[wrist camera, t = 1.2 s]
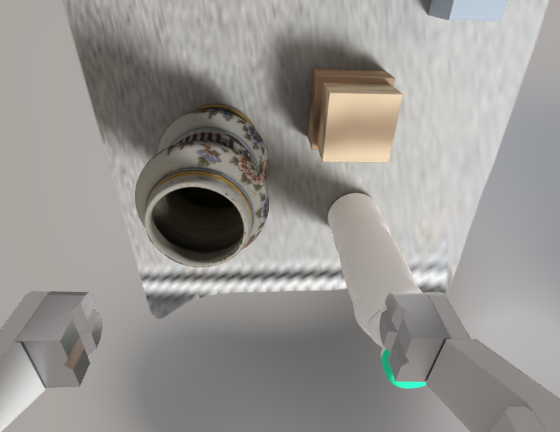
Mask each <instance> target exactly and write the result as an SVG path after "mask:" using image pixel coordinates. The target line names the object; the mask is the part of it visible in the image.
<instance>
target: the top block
mask: <svg viewBox="0 0 560 432" xmlns="http://www.w3.org/2000/svg"><path fill="white" fill-rule="evenodd" d="M402 96H403V94H402V93H400V92H399V91H398V90H397V89H396V88H394V87H393V86H392V85H391V84H370V83H323V92H322V103H321V113H320V124H319V134H318V145H317V147H318V150H319V153H320V155H321V158H322V161H331V162H388V161H389V156H390V152H391V147H392V142H393V138H394V133H395V128H396V124H397V119H398V114H399V110H400V105H401V100H402Z"/></svg>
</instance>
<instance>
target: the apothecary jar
mask: <svg viewBox="0 0 560 432" xmlns="http://www.w3.org/2000/svg"><path fill="white" fill-rule="evenodd" d="M268 170H269V159H268V154H267V150H266V147H265V144H264V142H263V140H262V138H261V137H260V135H259V134H258V132H257V131H256V129H255V127H254V126H253V124H252V123H251V121H250V120H249V119H248V118H247V117H246V116H245V115H244V114H242V113H241V112H240V111H238V110H236V109H234V108H232V107H229V106H225V105H219V104H212V105H205V106H202V107H199V108H197V111H194V112H190V113H187V114H185V115H183V116H181V117H179V118H178V119H176V120H175V121H174V122H173V123H172V124H171V125H170V126H169V127H168V128H167V129H166V131H165V132H164V134H163V135H162V137H161V140H160V142H159V146H158V150H157V154H156V155H155V156H154V157H153V158H152V159H151V160H150V161H149V162H148V163H147V164H146V166H145V167H144V168H143V170H142V172H141V174H140V176H139V178H138V181H137V184H136V190H135V203H136V208H137V212H138V215H139V218H140V220H141V222H142V224H143V225H144V227H145V229H146V232H147V235H148V237H149V239H150V241H151V242H152V244H153V245H154V246H155V247H156V248H157V249H158V250H159V251H160V252H161V253H162V254H164V255H165V256H167V257H168V258H170V259H171V260H173V261H175V262H178V263H180V264H183V265H187V266H191V267H209V266H215V265H219V264H222V263H224V262H226V261H228V260H230V259H232V258H233V257H234V256H236V255H237V254H238V253H239V252H240V251H241V250H242V249H244V248H245V247H247V246H248V245H249V244H250V243H251V242H253V241H254V239H255V238H256V237H257V236H258V235H259V233H260V232H261V230H262V228H263V227H264V224H265V222H266V219H267V216H268V211H269V198H268V192H267V188H266V185H265V182H266V179H267V176H268Z"/></svg>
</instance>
